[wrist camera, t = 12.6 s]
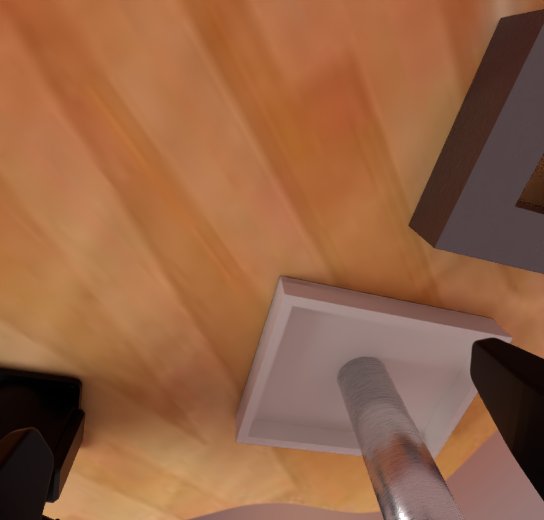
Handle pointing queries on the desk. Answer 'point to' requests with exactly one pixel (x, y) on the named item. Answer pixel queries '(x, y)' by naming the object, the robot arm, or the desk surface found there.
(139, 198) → the desk surface
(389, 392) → the steel pin
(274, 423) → the tray
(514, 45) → the hitch block
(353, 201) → the desk surface
